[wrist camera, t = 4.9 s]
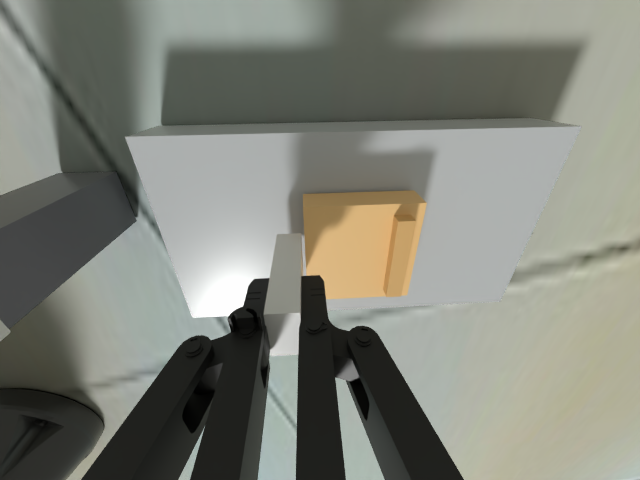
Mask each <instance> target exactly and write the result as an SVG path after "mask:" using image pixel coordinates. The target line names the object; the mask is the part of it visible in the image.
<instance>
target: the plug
mask: <svg viewBox="0 0 640 480" xmlns="http://www.w3.org/2000/svg"><path fill="white" fill-rule="evenodd" d="M135 222H136V218H135V216H134V213H133V211H132V209H131V206H130V204H129V201H128V199H127V197H126V194H125V192H124V189H123V187H122V185H121V182H120V180H119V177H118V175H117V173H116V172H83V173H58V174H55V175H53V176H50V177H47V178H45V179H42V180H40V181H37V182H34V183H32V184H29V185H26V186H24V187H21V188H19V189H16V190H13V191H11V192H8V193H6V194H3V195H0V341H1V340H2V339H4V338H5V337H6V336H7V335H8V334H9V333H10V332H11V331H10V330H9V329H10V328H11V327H12V326H13V325H15V324H16V323H17V322H18V321H19V320H20V319H22V318H23V317H24V316H25V315H26V314H28V313H29V312H30V311H31V310H32V309H33V308H35V307H36V306H37V305H38V304H39V303H40V302H42V301H43V300H44V299H45V298H46V297H48V296H49V295H50V294H51V293H52V292H53V291H55V290H56V289H57V288H58V287H59V286H60V285H62V284H63V283H64V282H65V281H66V280H68V279H69V278H70V277H71V276H72V275H73V274H75V273H76V272H77V271H78V270H79V269H80V268H82V267H83V266H84V265H85V264H86V263H88V262H89V261H90V260H91V259H92V258H93V257H95V256H96V255H97V254H98V253H99V252H100V251H102V250H103V249H104V248H105V247H106V246H108V245H109V244H110V243H111V242H112V241H113V240H115V239H116V238H117V237H118V236H119V235H120V234H122V233H123V232H124V231H125V230H126V229H127V228H129V227H130V226H131V225H132V224H133V223H135Z"/></svg>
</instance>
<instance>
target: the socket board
mask: <svg viewBox="0 0 640 480" xmlns="http://www.w3.org/2000/svg"><path fill="white" fill-rule="evenodd" d="M581 127H582V126H577V125H571V124H565V123H559V122H553V121H547V120H541V119H535V118H504V119H456V120H409V121H362V122H315V123H267V124H220V125H173V126H157V127H154V128H150V129H147V130H144V131H141V132H138V133H135V134H132V135H129V136H126V137H125V139H126V141H127V144H128V147H129V149H130V152H131V155H132V157H133V160H134V163H135V165H136V168H137V171H138V173H139V176H140V179H141V181H142V184H143V187H144V189H145V192H146V195H147V197H148V200H149V203H150V205H151V208H152V211H153V213H154V216H155V219H156V221H157V224H158V227H159V229H160V232H161V235H162V238H163V240H164V243H165V246H166V248H167V251H168V254H169V256H170V259H171V262H172V264H173V267H174V270H175V272H176V275H177V278H178V280H179V283H180V286H181V288H182V291H183V294H184V296H185V299H186V302H187V304H188V307H189V310H190V312H191V315H192V318H196V317H215V316H229V315H230V314H231V313H232V312H233V311H234V310H236V309H238V308H240V307H243V305H244V301H245V297H246V294H247V290H248V286H249V284H250V283H251V282H252V281H253V280H254V279H260V278H270V273H271V267H272V261H273V255H274V249H275V243H276V237H277V234H294V233H301V240H302V256H303V276H306V259H305V238H304V218H303V194H317V193H347V192H377V191H408V190H414V191H415V192H416V193H417V194H418V195H419V196H420V197H421V198H422V199H423V200H425V201H426V202H427V205H426V210H425V215H424V219H423V224H422V229H421V233H420V238H419V243H418V247H417V252H416V257H415V261H414V266H413V271H412V275H411V280H410V285H409V289H408V294H407V295H404V296H401V297H386V296H384V297H364V298H345V299H326V304H327V311H329V310H348V309H368V308H387V307H406V306H425V305H444V304H463V303H482V302H500V301H501V299H502V297H503V294H504V292H505V290H506V288H507V286H508V284H509V282H510V279H511V277H512V275H513V273H514V271H515V269H516V267H517V264H518V262H519V260H520V258H521V256H522V254H523V252H524V249H525V247H526V245H527V243H528V241H529V239H530V237H531V234H532V232H533V230H534V228H535V226H536V224H537V222H538V219H539V217H540V215H541V213H542V211H543V209H544V207H545V204H546V202H547V200H548V198H549V196H550V194H551V192H552V189H553V187H554V185H555V183H556V181H557V179H558V177H559V174H560V172H561V170H562V168H563V166H564V164H565V162H566V159H567V157H568V155H569V153H570V151H571V149H572V147H573V144H574V142H575V140H576V138H577V136H578V134H579V132H580V129H581Z"/></svg>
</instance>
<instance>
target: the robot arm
mask: <svg viewBox="0 0 640 480" xmlns="http://www.w3.org/2000/svg"><path fill="white" fill-rule="evenodd" d="M228 322H229V326H230V329H231V333H229V334H227V335H225V336H223V337H220V338H217V339H214V340H210V339H209V338H208V337H206V336H194V337H191V338H189V339H188V340H186V341H184V342H183V343H182V344H181V345H180V346H179V348H178V349H177V350H176V352H175V353H174V354H173V356H172V357H171V359H170V360H169V361H168V363H167V364H166V365H165V367H164V368H163V369H162V371H161V372H160V373H159V375H158V376H157V378H156V379H155V380H154V382H153V383H152V384H151V386H150V387H149V388H148V390H147V391H146V392H145V394H144V395H143V397H142V398H141V399H140V401H139V402H138V403H137V405H136V406H135V407H134V409H133V410H132V411H131V413H130V414H129V416H128V417H127V418H126V420H125V421H124V422H123V424H122V425H121V426H120V428H119V429H118V431H117V432H116V433H115V435H114V436H113V437H112V439H111V440H110V441H109V443H108V444H107V445H106V447H105V448H104V450H103V451H102V452H101V454H100V455H99V456H98V458H97V459H96V460H95V462H94V463H93V464H92V466H91V467H90V469H89V470H88V471H87V473H86V474H85V475H84V477H83V478H82V479H81V480H178V479H179V477H180V475H181V473H182V471H183V469H184V467H185V465H186V463H187V461H188V459H189V457H190V455H191V453H192V451H193V449H194V447H195V445H196V443H197V441H198V439H199V437H200V435H201V433H202V431H203V429H204V427H205V429H204V432H203V436H202V439H201V443H200V446H199V450H198V454H197V457H196V461H195V464H194V468H193V471H192V475H191V479H190V480H257V479H258V470H259V461H260V452H261V443H262V434H263V425H264V416H265V407H266V398H267V389H268V380H269V372H270V364H269V354H271V356H282V355H298V402H297V452H296V480H346V478H345V468H344V458H343V449H342V439H341V430H340V420H339V410H338V401H337V391H336V382H335V377H336V378H340V379H344V380H346V382H347V385H348V387H349V390H350V392H351V395H352V398H353V400H354V403H355V405H356V408H357V410H358V413H359V415H360V418H361V420H362V423H363V425H364V428H365V430H366V433H367V436H368V438H369V441H370V443H371V446H372V448H373V451H374V453H375V456H376V458H377V461H378V463H379V466H380V468H381V471H382V474H383V476H384V479H385V480H464V479H463V477H462V476H461V474H460V472H459V471H458V469H457V467H456V466H455V464H454V462H453V461H452V459H451V457H450V456H449V454H448V452H447V450H446V449H445V447H444V445H443V444H442V442H441V440H440V439H439V437H438V435H437V434H436V432H435V430H434V429H433V427H432V425H431V423H430V422H429V420H428V418H427V417H426V415H425V413H424V412H423V410H422V408H421V407H420V405H419V403H418V401H417V400H416V398H415V396H414V395H413V393H412V391H411V390H410V388H409V386H408V385H407V383H406V381H405V380H404V378H403V376H402V374H401V373H400V371H399V369H398V368H397V366H396V364H395V363H394V361H393V359H392V358H391V356H390V354H389V353H388V351H387V349H386V347H385V346H384V344H383V342H382V341H381V339H380V337H379V336H378V334H377V333H376V332H375V331H374V330H373V329H371V328H369V327H365V326H357V327H355V328H352V329H351V330H350V331H346V330H342V329H339V328H336V327H335V326H333V325H332V324H331V323H330V321H329V319H328V313H327V304H326V295H325V285H324V280H323V279H322V278H321V276H320V275H311V276H303V256H302V240H301V233H294V234H277V237H276V243H275V249H274V255H273V261H272V267H271V273H270V278H260V279H254V280H253V281H252V282H251V283H250V284H249V286H248V290H247V294H246V297H245V301H244V305H243V307H240V308H238V309H236V310H234V311H233V312H232V313H231V314H230V315H229V317H228ZM103 430H104V426H103V423H102V421H101V419H100V418H99V417H98V416H97V415H96V414H95V413H94V412H93V411H91V410H90V409H88V408H87V407H85V406H83V405H81V404H79V403H77V402H75V401H72V400H70V399H67V398H64V397H61V396H58V395H54V394H50V393H45V392H40V391H33V390H23V389H2V390H0V480H66V479H67V478H68V477H69V476H70V474H71V473H72V472H73V471H74V470H75V469H76V467H77V466H78V465H79V464H80V463H81V461H82V460H84V459H85V458H86V457H87V456H88V455H89V454H90V453H91V452H92V450H93V449H94V447H95V445H96V443H97V442H98V440H99V438H100V436H101V435H102V433H103Z"/></svg>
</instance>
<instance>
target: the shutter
mask: <svg viewBox="0 0 640 480" xmlns="http://www.w3.org/2000/svg"><path fill="white" fill-rule="evenodd" d="M426 205H427V202H426V201H425V200H423V199H422V198H421V197H420V196H419V195H418V194H417V193H416V192H415V191H414V190H408V191H377V192H347V193H317V194H303V218H304V238H305V259H306V276H311V275H320V276H321V278H322V279H323V280H324V285H325V295H326V299H345V298H364V297H384V296H386V297H401V296H404V295H407V294H408V289H409V285H410V280H411V275H412V271H413V266H414V261H415V257H416V252H417V247H418V243H419V238H420V233H421V229H422V224H423V219H424V215H425V210H426Z"/></svg>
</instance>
